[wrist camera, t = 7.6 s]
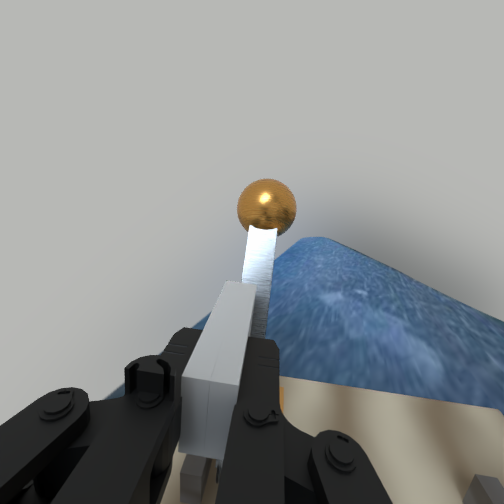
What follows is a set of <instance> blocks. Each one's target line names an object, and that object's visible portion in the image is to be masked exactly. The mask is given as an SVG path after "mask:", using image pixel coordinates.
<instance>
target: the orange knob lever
mask: <svg viewBox="0 0 504 504" xmlns="http://www.w3.org/2000/svg"><path fill="white" fill-rule="evenodd" d="M237 213H238V218H239V220H240V223H241V224H242V226H243V227H244V228H245V230H246V231H247V232H249V233H248V241H247V247H246V254H245V262H244V268H243V276H242V283H248V284H255V285H257V287H256V295H255V303H254V310H253V318H252V326H251V333H250V337H256V338H263V339H265V335H266V326H267V317H268V309H269V300H270V291H271V283H272V274H273V265H274V256H275V248H276V239H277V236H280V235H282V234H283V233H285V231H287V230H288V229H289V228H290V226H291V225H292V223H293V221H294V219H295V215H296V201H295V198H294V196H293V194H292V192H291V191H290V189H289V188H288V187H287V186H286V185H284V184H283V183H281V182H279V181H277V180H274V179H261V180H258V181H255V182H253V183H251V184H250V185H249V186H247V187H246V188H245V189H244V191H243V192H242V194H241V195H240V197H239V200H238V205H237ZM222 464H223V460H219V459H216V465H215V468H217V472H216V484H219V480H220V474H221V469H222Z"/></svg>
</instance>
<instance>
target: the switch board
mask: <svg viewBox="0 0 504 504" xmlns="http://www.w3.org/2000/svg"><path fill="white" fill-rule="evenodd" d="M279 383H280V408H281V410H282V413H283V415H284V416H285V418H286V419H287V420H288V421H289V422H290V423H291V424H292V425H293V426H294V427H296V428H298V429H299V430H301V431H303V432H305V433H307V434H309V435H311V436H313V437H315V436H316V435H317V434H318V433H319V432H322V431H325V430H335V431H340V432H342V433H344V434H346V435H349V436H350V437H351V438H353V439H354V440H355V441H356V442H357V443H359V444H360V446H361V447H362V449H363V450H364V451H365V453H366V454H367V456H368V458H369V460H370V462H371V463H372V465H373V467H374V469H375V471H376V473H377V475H378V476H379V478H380V480H381V482H382V484H383V486H384V488H385V490H386V491H387V493H388V495H389V497H390V499H391V501H392V503H393V504H504V416H503V414H502V413H501V412H500V411H499V410H498V409H492V408H485V407H479V406H472V405H466V404H459V403H453V402H446V401H440V400H433V399H427V398H420V397H414V396H407V395H401V394H394V393H388V392H381V391H375V390H368V389H362V388H355V387H349V386H342V385H336V384H329V383H323V382H316V381H310V380H303V379H297V378H290V377H284V376H279ZM178 443H179V441H178ZM215 465H216V459H213V458H207V457H204V456H197V455H191V454H186V453H180V452H178V444H177V446H176V449H175V452H174V454H173V463H172V470H171V475H170V477H169V480H168V483H167V486H166V489H165V492H164V495H163V498H162V500H161V503H160V504H215V500H216V495H217V490H218V485H219V484H216V472H217V468H215Z"/></svg>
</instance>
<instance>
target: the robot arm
mask: <svg viewBox="0 0 504 504" xmlns="http://www.w3.org/2000/svg"><path fill="white" fill-rule="evenodd" d="M256 287H257V285H255V284H248V283H241V282H233V281H226V283H225V285H224V287H223V289H222V291H221V293H220V296H219V298H218V300H217V302H216V304H215V306H214V308H213V310H212V312H211V315H210V317H209V319H208V321H207V323H206V325H205V327H204V329H203V330H198V329H192V328H185V327H184V328H182V329H181V330H179V331H178V332H176V333H175V334H174V335H173V337H172V338H171V340H170V342H169V343H168V345H167V346H166V348H165V349H164V352H162V354H161V355H149V356H145V357H140V358H138V359H136V360H134V361H132V362H131V363H129V364H128V365H127V366H126V367H125V395H124V396H122V397H120V398H115V399H109V400H100V401H91V402H89V398H88V394H87V393H86V392H85V391H83V390H82V389H78V388H73V387H71V388H61V389H58V390H55V391H52V392H49V393H48V394H46V395H44V396H42V397H40V398H39V399H37V400H36V401H34V402H33V403H32V404H30V405H29V406H27V407H26V408H25V409H23V410H22V411H20V412H19V413H18V414H16V415H15V416H13V417H12V418H10V419H9V420H8V421H6V422H5V423H3V424H2V425H1V426H0V504H160V503H161V500H162V498H163V495H164V492H165V489H166V486H167V483H168V480H169V477H170V475H171V470H172V463H173V454H174V452H175V449H176V446H177V444H178V452H180V453H186V454H191V455H197V456H204V457H207V458H213V459H219V460H223V464H222V469H221V474H220V480H219V485H218V490H217V495H216V500H215V504H393V503H392V501H391V499H390V497H389V495H388V493H387V491H386V490H385V488H384V486H383V484H382V482H381V480H380V478H379V476H378V475H377V473H376V471H375V469H374V467H373V465H372V463H371V462H370V460H369V458H368V456H367V454H366V453H365V451H364V450H363V449H362V447H361V446H360V444H359V443H357V442H356V441H355V440H354V439H353V438H351V437H350V436H349V435H346V434H344V433H342V432H340V431H335V430H325V431H322V432H319V433H318V434H317V435H316V436H315V437H313V436H311V435H309V434H307V433H305V432H303V431H301V430H299V429H298V428H296V427H294V426H293V425H292V424H291V423H290V422H289V421H288V420H287V419H286V418H285V416H284V415H283V413H282V410H281V408H280V383H279V348H278V347H277V345H276V343H275V341H274V340H269V339H263V338H256V337H250V333H251V326H252V318H253V310H254V303H255V295H256ZM178 441H179V443H178Z"/></svg>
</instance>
